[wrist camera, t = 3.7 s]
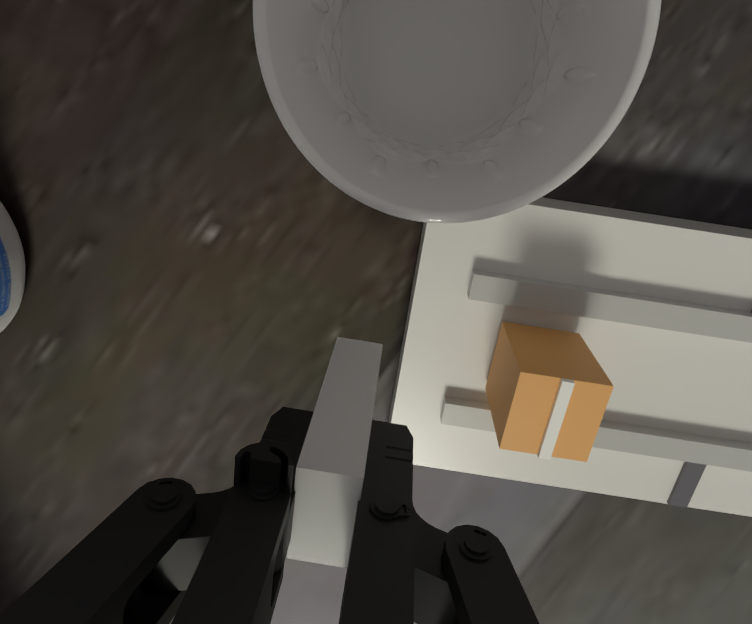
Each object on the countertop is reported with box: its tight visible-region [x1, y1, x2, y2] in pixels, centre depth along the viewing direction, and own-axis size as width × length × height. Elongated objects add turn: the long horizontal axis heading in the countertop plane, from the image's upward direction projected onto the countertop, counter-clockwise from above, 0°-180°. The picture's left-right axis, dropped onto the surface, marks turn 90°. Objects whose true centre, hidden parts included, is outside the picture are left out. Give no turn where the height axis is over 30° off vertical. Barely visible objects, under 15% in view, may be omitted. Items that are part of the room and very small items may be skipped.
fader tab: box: [485, 322, 614, 462], centre depth 20 cm, size 3×3×4 cm
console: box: [388, 197, 752, 517], centre depth 23 cm, size 18×12×3 cm, turn 82°
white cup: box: [253, 0, 661, 223], centre depth 15 cm, size 8×8×10 cm
